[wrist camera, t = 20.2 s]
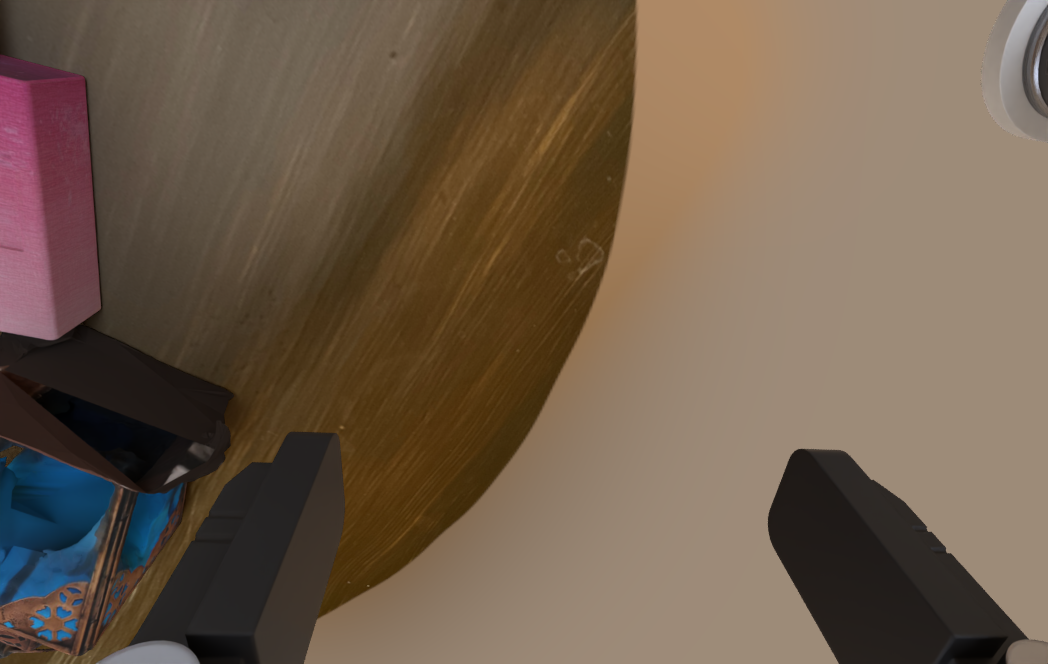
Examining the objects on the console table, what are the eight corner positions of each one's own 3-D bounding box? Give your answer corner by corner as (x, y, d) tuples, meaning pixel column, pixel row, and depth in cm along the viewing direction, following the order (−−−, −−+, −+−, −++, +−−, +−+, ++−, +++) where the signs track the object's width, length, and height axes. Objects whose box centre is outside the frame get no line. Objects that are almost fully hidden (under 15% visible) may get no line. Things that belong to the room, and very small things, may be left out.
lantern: (188, 301, 44) (107, 520, 52) (-116, 298, 30) (-164, 598, 38) (302, 438, 38) (190, 663, 46) (-15, 514, 24) (-97, 818, 32)
